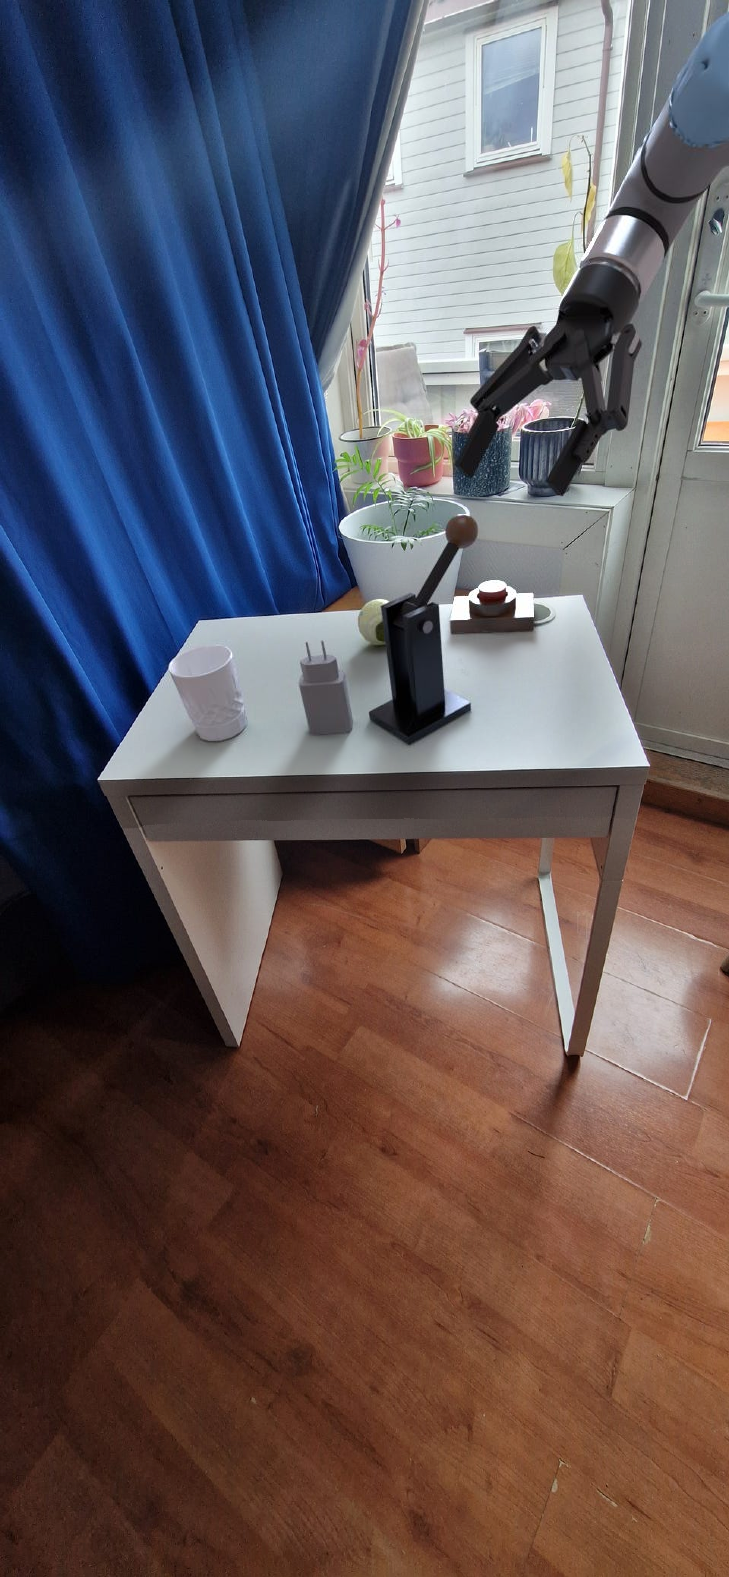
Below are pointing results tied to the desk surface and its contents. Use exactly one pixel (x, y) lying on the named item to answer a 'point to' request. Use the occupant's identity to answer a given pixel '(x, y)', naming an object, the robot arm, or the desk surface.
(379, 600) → the tennis ball
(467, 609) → the button block
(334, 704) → the power adapter
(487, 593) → the button
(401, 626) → the lever
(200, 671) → the white cup
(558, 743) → the desk surface
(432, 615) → the bracket
